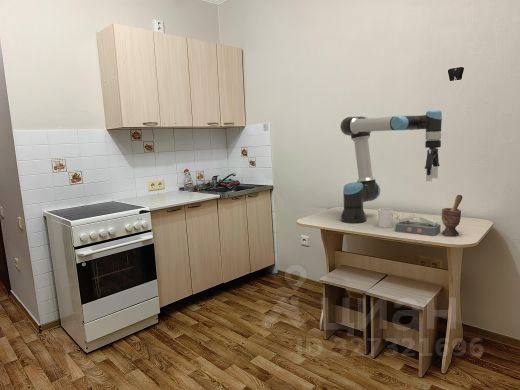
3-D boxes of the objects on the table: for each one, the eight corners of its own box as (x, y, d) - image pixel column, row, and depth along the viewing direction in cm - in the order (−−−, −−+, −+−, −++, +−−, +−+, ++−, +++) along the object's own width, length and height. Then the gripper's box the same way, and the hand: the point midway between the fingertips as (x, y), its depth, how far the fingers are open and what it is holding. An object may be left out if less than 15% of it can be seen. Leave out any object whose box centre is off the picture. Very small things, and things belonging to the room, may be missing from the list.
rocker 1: (399, 222, 199) (398, 219, 199) (401, 221, 202) (400, 218, 202) (413, 219, 194) (412, 216, 194) (415, 218, 197) (414, 214, 197)
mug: (396, 229, 202) (396, 211, 201) (375, 226, 210) (375, 210, 209) (401, 226, 208) (401, 209, 207) (381, 224, 216) (381, 207, 215)
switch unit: (395, 231, 198) (395, 221, 197) (401, 227, 205) (401, 218, 205) (434, 236, 185) (435, 226, 184) (440, 231, 193) (440, 221, 192)
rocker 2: (419, 219, 192) (420, 216, 191) (421, 218, 195) (422, 215, 194) (434, 226, 188) (436, 222, 187) (436, 224, 190) (437, 221, 190)
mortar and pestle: (445, 230, 195) (446, 193, 192) (463, 232, 189) (464, 194, 186) (439, 235, 186) (440, 196, 183) (457, 237, 181) (459, 197, 178)
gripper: (435, 140, 182) (434, 182, 185) (445, 139, 202) (444, 177, 205) (419, 141, 187) (418, 182, 190) (431, 139, 206) (429, 176, 210)
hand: (431, 179), depth 197 cm, fingers open, 13 cm apart
